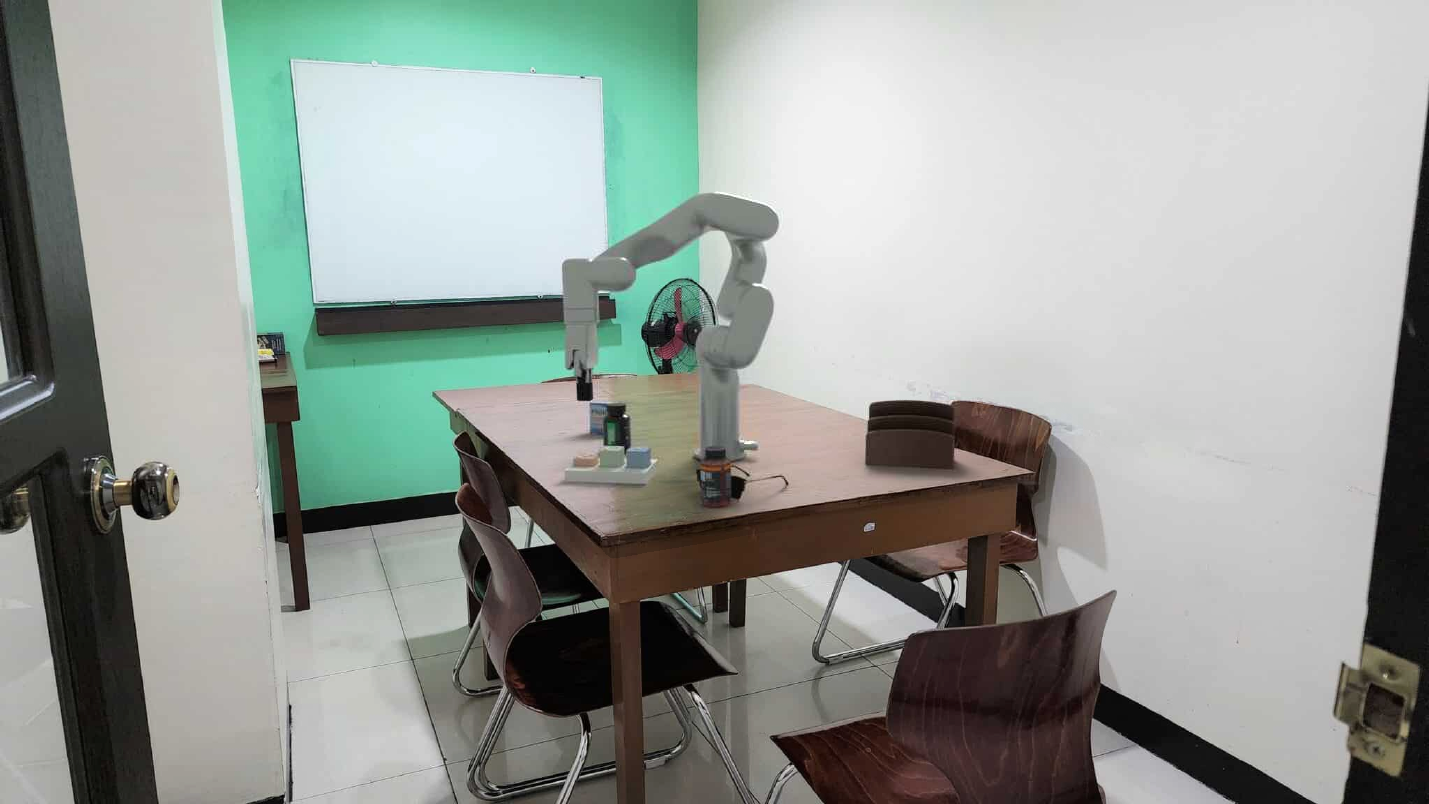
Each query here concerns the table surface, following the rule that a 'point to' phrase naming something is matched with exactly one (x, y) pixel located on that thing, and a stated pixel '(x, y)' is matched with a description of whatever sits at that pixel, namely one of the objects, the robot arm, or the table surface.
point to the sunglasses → (738, 482)
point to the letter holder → (910, 434)
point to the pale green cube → (612, 456)
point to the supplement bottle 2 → (715, 478)
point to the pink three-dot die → (585, 460)
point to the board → (611, 474)
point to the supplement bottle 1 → (617, 426)
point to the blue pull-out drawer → (638, 457)
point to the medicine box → (598, 415)
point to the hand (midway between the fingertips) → (585, 400)
